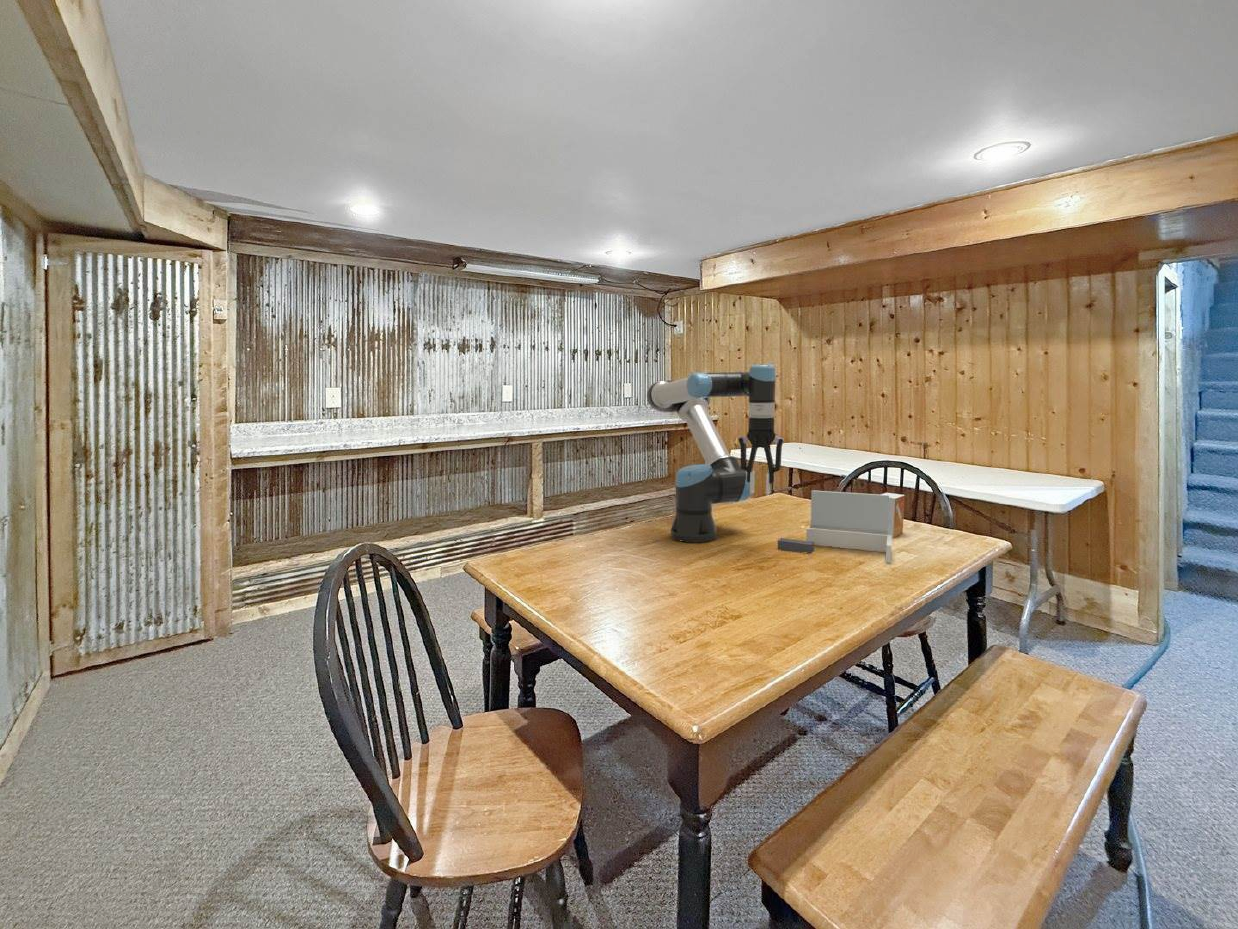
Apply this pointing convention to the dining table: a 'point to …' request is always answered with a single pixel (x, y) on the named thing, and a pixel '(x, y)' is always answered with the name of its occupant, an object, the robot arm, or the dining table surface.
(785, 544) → the dark blue-grey block
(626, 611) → the dining table surface
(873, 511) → the cover
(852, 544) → the grey bench block
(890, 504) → the small box
